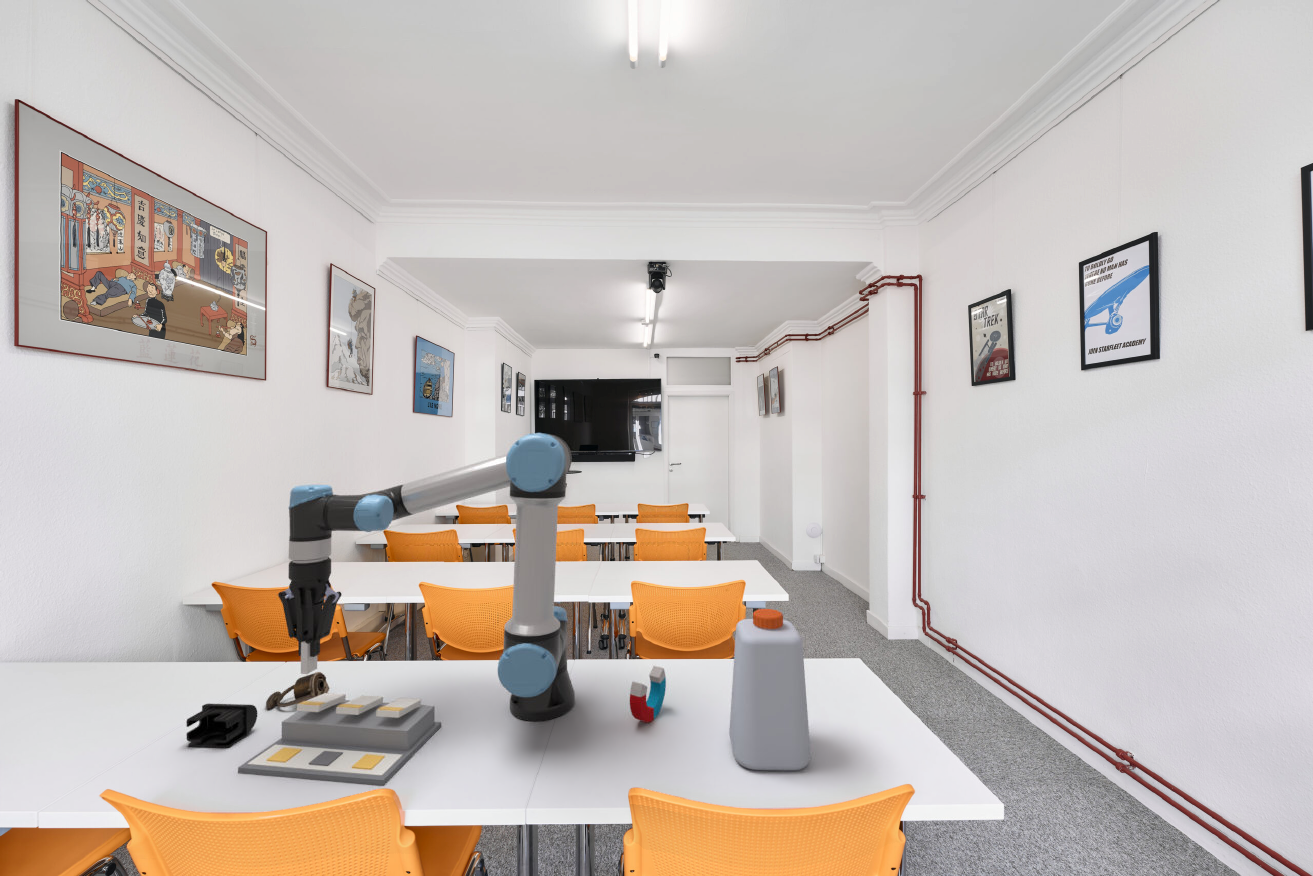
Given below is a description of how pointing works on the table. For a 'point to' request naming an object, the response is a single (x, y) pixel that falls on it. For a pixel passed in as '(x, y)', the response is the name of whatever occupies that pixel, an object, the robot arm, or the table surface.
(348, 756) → the switch unit
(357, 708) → the rocker middle
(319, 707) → the rocker
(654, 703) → the magnet
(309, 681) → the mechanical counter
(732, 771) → the table surface
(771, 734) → the plastic bottle
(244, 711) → the end cap
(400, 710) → the rocker
